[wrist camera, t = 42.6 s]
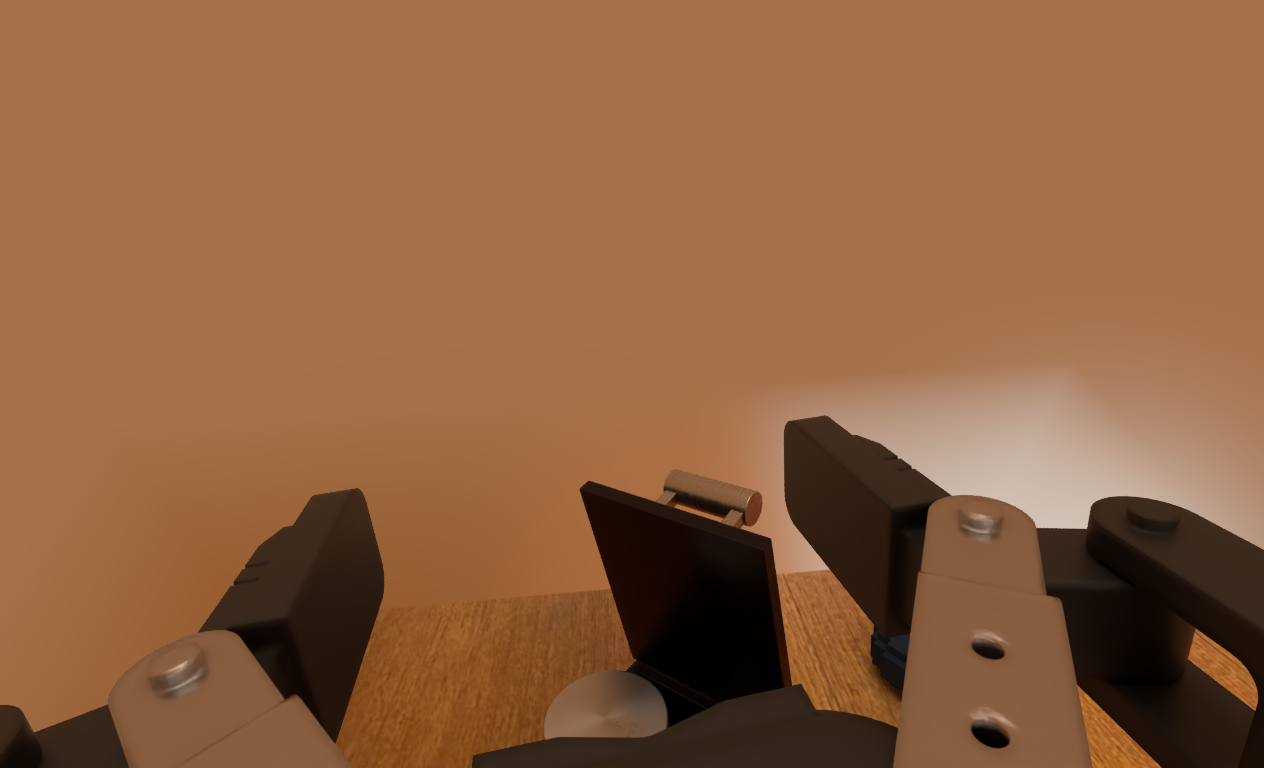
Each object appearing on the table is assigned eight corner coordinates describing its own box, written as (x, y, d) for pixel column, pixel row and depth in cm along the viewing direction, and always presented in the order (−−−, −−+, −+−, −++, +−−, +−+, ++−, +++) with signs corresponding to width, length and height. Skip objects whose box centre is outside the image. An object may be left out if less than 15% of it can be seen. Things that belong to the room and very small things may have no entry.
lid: (763, 550, 26) (811, 480, 29) (578, 488, 32) (635, 436, 36) (792, 742, 32) (829, 666, 35) (632, 658, 39) (676, 600, 42)
